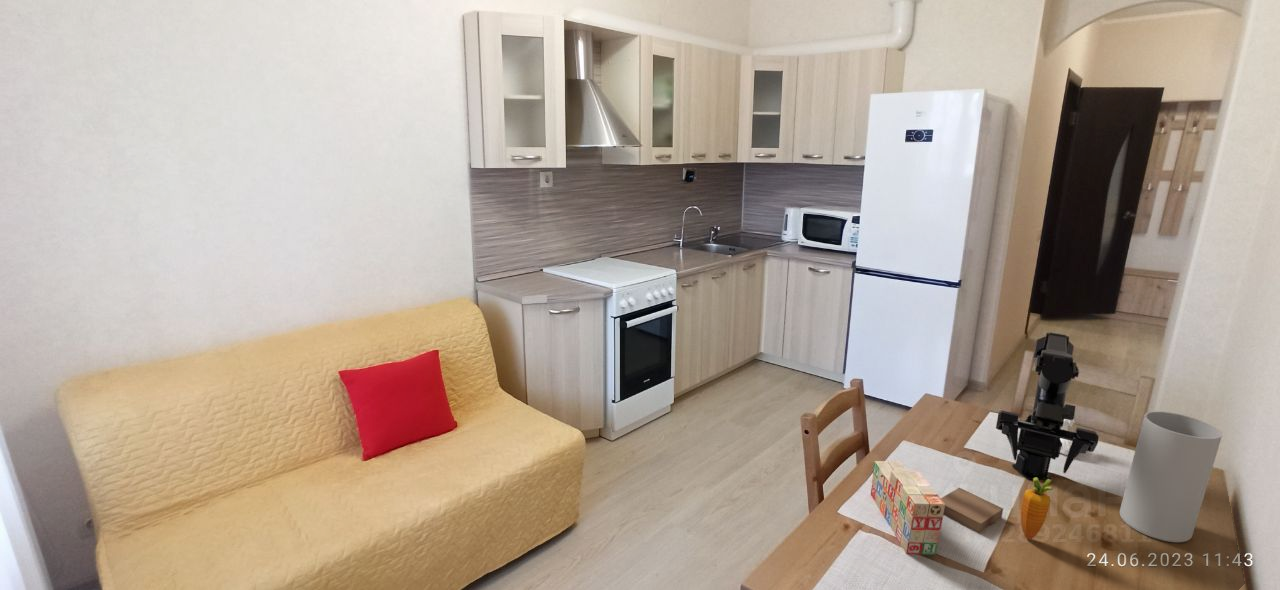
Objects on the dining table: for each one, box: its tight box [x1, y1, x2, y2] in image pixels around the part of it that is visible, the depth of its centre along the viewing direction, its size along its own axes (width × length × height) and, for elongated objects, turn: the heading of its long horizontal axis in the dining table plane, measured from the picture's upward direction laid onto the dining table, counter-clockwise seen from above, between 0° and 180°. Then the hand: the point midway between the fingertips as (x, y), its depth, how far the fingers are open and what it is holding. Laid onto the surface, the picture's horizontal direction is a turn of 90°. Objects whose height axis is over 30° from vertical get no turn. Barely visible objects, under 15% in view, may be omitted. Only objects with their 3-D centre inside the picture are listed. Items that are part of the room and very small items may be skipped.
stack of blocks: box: [870, 460, 945, 556], centre depth 132 cm, size 21×6×12 cm, turn 179°
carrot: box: [1020, 477, 1053, 541], centre depth 126 cm, size 5×5×15 cm
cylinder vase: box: [1119, 410, 1223, 543], centre depth 131 cm, size 12×12×25 cm
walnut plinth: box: [940, 487, 1004, 535], centre depth 136 cm, size 10×10×2 cm
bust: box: [1060, 418, 1076, 456], centre depth 167 cm, size 12×8×11 cm
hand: (1039, 465), depth 131 cm, fingers open, 9 cm apart
